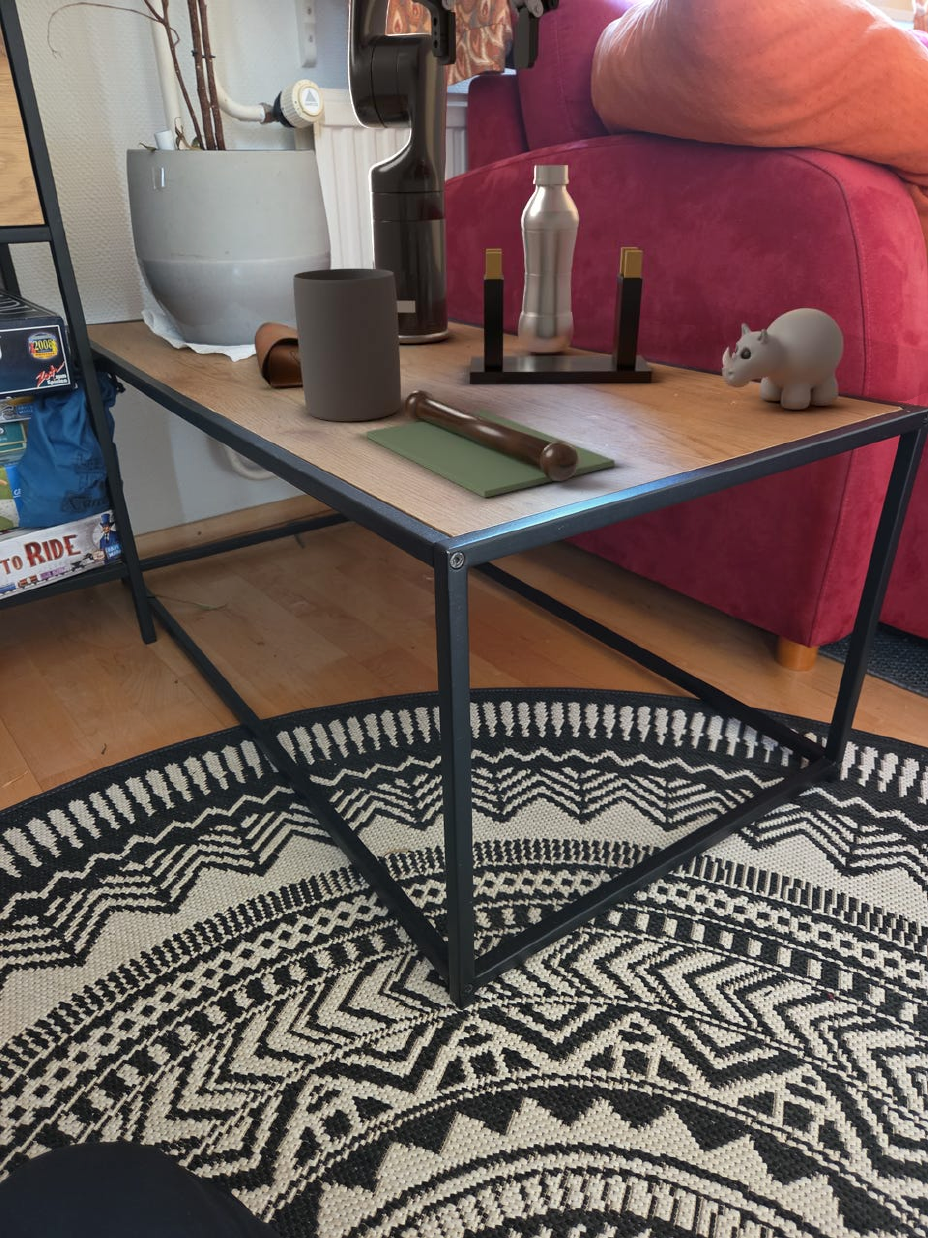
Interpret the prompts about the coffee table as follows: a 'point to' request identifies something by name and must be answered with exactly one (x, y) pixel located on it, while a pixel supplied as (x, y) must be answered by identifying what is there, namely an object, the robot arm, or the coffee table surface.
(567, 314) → the silver metal bottle
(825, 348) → the toy rhinoceros
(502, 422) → the mat
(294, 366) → the sunglasses case
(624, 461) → the coffee table surface
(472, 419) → the knobbed wooden handle
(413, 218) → the robot arm
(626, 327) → the rack
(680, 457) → the coffee table surface
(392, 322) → the mug
